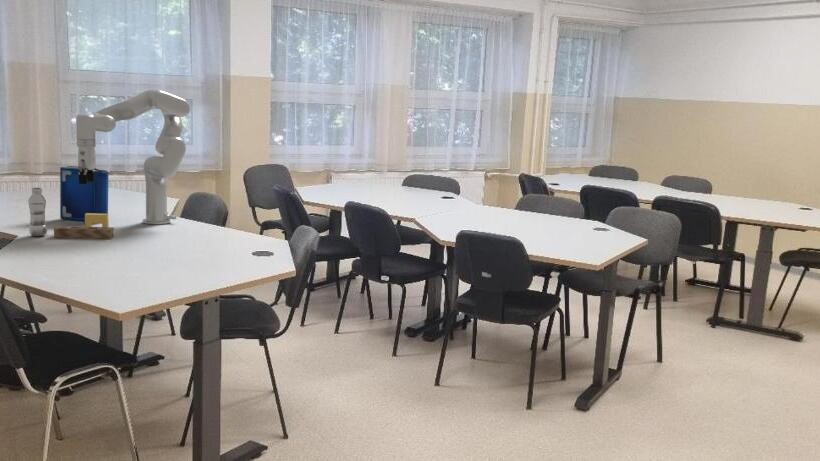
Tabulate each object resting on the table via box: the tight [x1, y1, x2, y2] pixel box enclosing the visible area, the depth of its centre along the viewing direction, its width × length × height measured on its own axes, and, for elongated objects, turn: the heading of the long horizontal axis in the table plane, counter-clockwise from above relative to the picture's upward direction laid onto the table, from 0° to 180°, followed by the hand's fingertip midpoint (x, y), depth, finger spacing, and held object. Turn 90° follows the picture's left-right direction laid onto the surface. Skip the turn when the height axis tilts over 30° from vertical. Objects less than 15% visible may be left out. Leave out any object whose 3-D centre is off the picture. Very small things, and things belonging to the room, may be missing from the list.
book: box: [59, 165, 110, 223], centre depth 336 cm, size 22×7×25 cm, turn 84°
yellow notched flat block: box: [84, 213, 110, 227], centre depth 313 cm, size 9×2×8 cm, turn 99°
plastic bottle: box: [27, 187, 48, 237], centre depth 297 cm, size 6×7×20 cm
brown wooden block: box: [53, 225, 115, 240], centre depth 301 cm, size 22×6×4 cm, turn 99°
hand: (86, 182), depth 314 cm, fingers open, 9 cm apart
